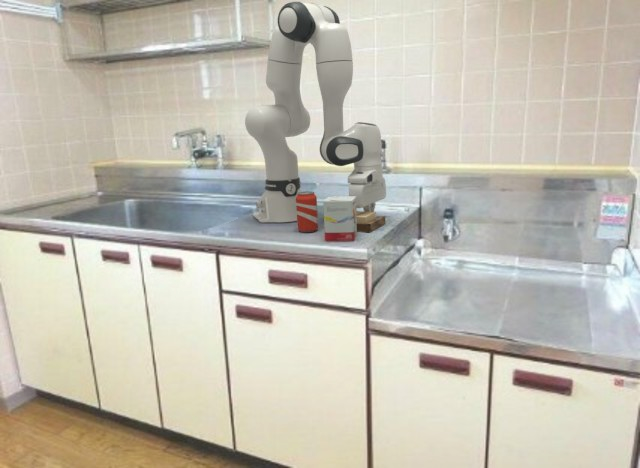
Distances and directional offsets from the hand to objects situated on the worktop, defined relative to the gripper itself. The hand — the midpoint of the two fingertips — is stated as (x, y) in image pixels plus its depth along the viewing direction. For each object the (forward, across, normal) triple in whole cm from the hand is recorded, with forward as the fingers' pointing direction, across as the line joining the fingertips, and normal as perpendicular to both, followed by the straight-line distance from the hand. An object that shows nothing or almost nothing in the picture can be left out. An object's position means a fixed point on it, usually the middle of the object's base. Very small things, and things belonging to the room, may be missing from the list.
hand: (369, 217), depth 162 cm
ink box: (+2, +21, +1) cm, 21 cm away
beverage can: (+2, +16, -14) cm, 21 cm away
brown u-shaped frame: (+2, +6, 0) cm, 6 cm away
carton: (+2, +7, 0) cm, 7 cm away
